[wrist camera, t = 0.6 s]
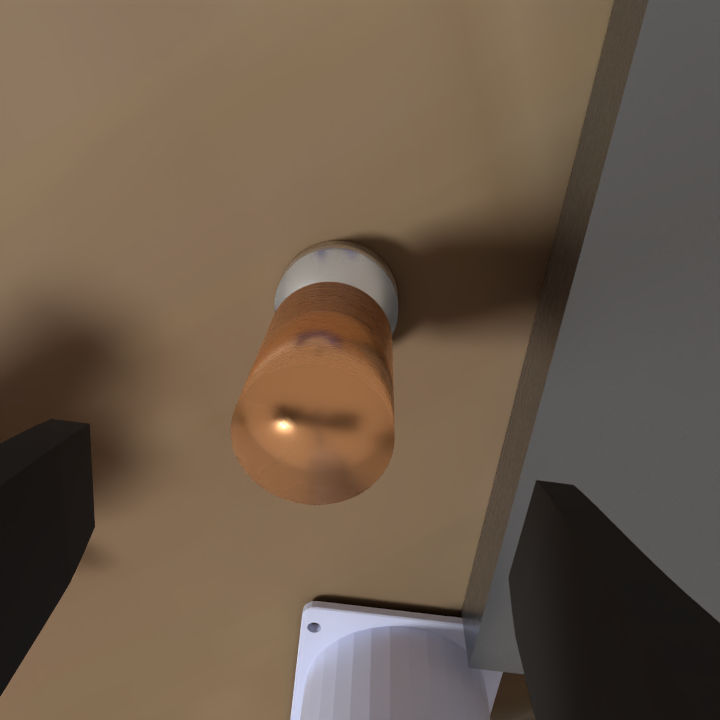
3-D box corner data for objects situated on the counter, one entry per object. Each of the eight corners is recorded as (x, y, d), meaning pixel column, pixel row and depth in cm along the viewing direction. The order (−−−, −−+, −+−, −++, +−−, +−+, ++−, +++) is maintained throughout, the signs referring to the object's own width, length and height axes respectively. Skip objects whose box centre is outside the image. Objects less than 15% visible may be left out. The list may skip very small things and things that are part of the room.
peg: (389, 359, 21) (390, 522, 14) (275, 344, 21) (217, 501, 14) (406, 248, 20) (418, 367, 12) (283, 232, 20) (223, 343, 12)
